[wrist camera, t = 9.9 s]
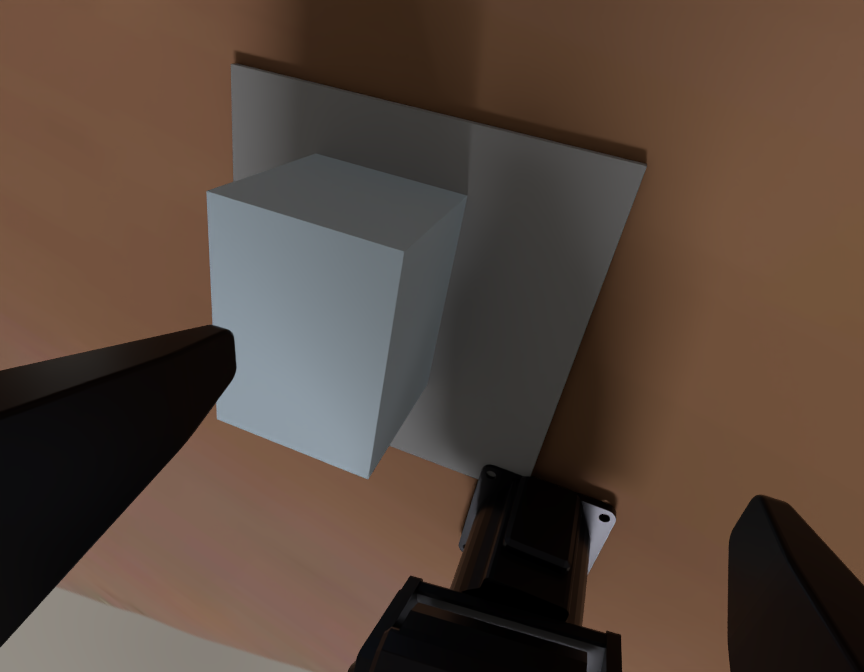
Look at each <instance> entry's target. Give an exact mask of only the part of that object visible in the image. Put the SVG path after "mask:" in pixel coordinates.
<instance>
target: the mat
mask: <svg viewBox="0 0 864 672" xmlns="http://www.w3.org/2000/svg"><path fill="white" fill-rule="evenodd" d="M231 93H232V137H233V181H234V182H235V181H237V180H240V179H243V178H246V177H249V176H252V175H255V174H258V173H261V172H264V171H266V170H269V169H272V168H275V167H278V166H281V165H284V164H287V163H290V162H293V161H295V160H298V159H301V158H304V157H307V156H310V155H313V154H320V155H323V156H327V157H330V158H334V159H338V160H341V161H345V162H348V163H352V164H356V165H359V166H363V167H366V168H370V169H374V170H377V171H381V172H384V173H388V174H392V175H395V176H399V177H402V178H406V179H409V180H413V181H417V182H420V183H424V184H427V185H431V186H435V187H438V188H442V189H445V190H449V191H453V192H456V193H460V194H463V195H467V201H466V205H465V210H464V215H463V219H462V224H461V229H460V234H459V238H458V243H457V248H456V252H455V257H454V262H453V266H452V271H451V276H450V280H449V285H448V290H447V295H446V299H445V304H444V309H443V313H442V318H441V323H440V327H439V332H438V337H437V342H436V346H435V351H434V356H433V360H432V365H431V370H430V374H429V379H428V384H427V386H426V388H425V389H424V391H423V392H422V394H421V396H420V397H419V399H418V400H417V402H416V404H415V405H414V407H413V408H412V410H411V412H410V413H409V415H408V416H407V418H406V420H405V421H404V423H403V424H402V426H401V428H400V429H399V431H398V432H397V434H396V436H395V437H394V439H393V440H392V442H391V444H390V445H389V446H391V447H394V448H397V449H399V450H402V451H405V452H407V453H410V454H413V455H415V456H418V457H420V458H423V459H426V460H428V461H431V462H434V463H436V464H439V465H441V466H444V467H447V468H449V469H452V470H455V471H457V472H460V473H463V474H465V475H468V476H470V477H473V478H476V479H478V480H479V476H480V473H481V470H482V468H483V467H484V466H485V465H489V464H491V465H495V466H498V467H500V468H503V469H506V470H508V471H511V472H514V473H516V474H519V475H522V476H529V477H530V476H531V473H532V470H533V468H534V465H535V462H536V460H537V457H538V454H539V452H540V449H541V446H542V444H543V441H544V438H545V436H546V433H547V430H548V428H549V425H550V422H551V420H552V417H553V415H554V412H555V409H556V407H557V404H558V401H559V399H560V396H561V393H562V391H563V388H564V385H565V383H566V380H567V377H568V375H569V372H570V369H571V367H572V364H573V361H574V359H575V356H576V353H577V351H578V348H579V345H580V343H581V340H582V337H583V335H584V332H585V329H586V327H587V324H588V321H589V319H590V316H591V314H592V311H593V308H594V306H595V303H596V300H597V298H598V295H599V292H600V290H601V287H602V284H603V282H604V279H605V276H606V274H607V271H608V268H609V266H610V263H611V260H612V258H613V255H614V252H615V250H616V247H617V244H618V242H619V239H620V236H621V234H622V231H623V228H624V226H625V223H626V220H627V218H628V215H629V213H630V210H631V207H632V205H633V202H634V199H635V197H636V194H637V191H638V189H639V186H640V183H641V181H642V178H643V175H644V173H645V170H646V167H647V164H645V163H641V162H637V161H633V160H628V159H624V158H620V157H616V156H612V155H608V154H604V153H600V152H596V151H592V150H588V149H584V148H580V147H576V146H571V145H567V144H563V143H559V142H555V141H551V140H547V139H543V138H539V137H535V136H531V135H527V134H523V133H518V132H514V131H510V130H506V129H502V128H498V127H494V126H490V125H486V124H482V123H478V122H474V121H470V120H465V119H461V118H457V117H453V116H449V115H445V114H441V113H437V112H433V111H429V110H425V109H421V108H417V107H413V106H408V105H404V104H400V103H396V102H392V101H388V100H384V99H380V98H376V97H372V96H368V95H364V94H360V93H355V92H351V91H347V90H343V89H339V88H335V87H331V86H327V85H323V84H319V83H315V82H311V81H307V80H303V79H298V78H294V77H290V76H286V75H282V74H278V73H274V72H270V71H266V70H262V69H258V68H254V67H250V66H245V65H241V64H231ZM487 474H488V475H489V476H492V477H494V476H496V474H495V473H494V472H492V471H488V472H487Z"/></svg>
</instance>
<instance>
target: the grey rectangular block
mask: <svg viewBox="0 0 864 672" xmlns="http://www.w3.org/2000/svg"><path fill="white" fill-rule="evenodd" d="M466 201H467V195H463V194H460V193H456V192H453V191H449V190H445V189H442V188H438V187H435V186H431V185H427V184H424V183H420V182H417V181H413V180H409V179H406V178H402V177H399V176H395V175H392V174H388V173H384V172H381V171H377V170H374V169H370V168H366V167H363V166H359V165H356V164H352V163H348V162H345V161H341V160H338V159H334V158H330V157H327V156H323V155H320V154H313V155H310V156H307V157H304V158H301V159H298V160H295V161H293V162H290V163H287V164H284V165H281V166H278V167H275V168H272V169H269V170H266V171H264V172H261V173H258V174H255V175H252V176H249V177H246V178H243V179H240V180H237V181H235V182H232V183H229V184H226V185H223V186H220V187H217V188H214V189H211V190H208V191H207V211H208V232H209V254H210V275H211V297H212V319H213V325H216V326H219V327H222V328H225V329H228V330H230V331H231V332H232V333H233V335H234V339H235V351H236V364H237V369H236V374H235V376H234V378H233V380H232V382H231V383H230V384H229V386H228V387H227V388H226V390H225V391H224V392H223V394H222V395H221V397H220V398H219V399H218V401H217V402H216V405H217V419H218V420H221V421H223V422H226V423H228V424H231V425H233V426H236V427H238V428H241V429H243V430H246V431H248V432H251V433H253V434H256V435H258V436H261V437H263V438H266V439H268V440H271V441H273V442H276V443H278V444H281V445H283V446H286V447H288V448H291V449H293V450H296V451H298V452H301V453H303V454H306V455H308V456H311V457H313V458H316V459H318V460H321V461H323V462H326V463H328V464H331V465H333V466H336V467H338V468H341V469H343V470H346V471H348V472H351V473H353V474H356V475H358V476H361V477H363V478H366V479H369V477H370V475H371V474H372V472H373V471H374V469H375V467H376V466H377V464H378V463H379V461H380V459H381V458H382V456H383V455H384V453H385V451H386V450H387V448H388V447H389V445H390V444H391V442H392V440H393V439H394V437H395V436H396V434H397V432H398V431H399V429H400V428H401V426H402V424H403V423H404V421H405V420H406V418H407V416H408V415H409V413H410V412H411V410H412V408H413V407H414V405H415V404H416V402H417V400H418V399H419V397H420V396H421V394H422V392H423V391H424V389H425V388H426V386H427V384H428V379H429V374H430V370H431V365H432V360H433V356H434V351H435V346H436V342H437V337H438V332H439V327H440V323H441V318H442V313H443V309H444V304H445V299H446V295H447V290H448V285H449V280H450V276H451V271H452V266H453V262H454V257H455V252H456V248H457V243H458V238H459V234H460V229H461V224H462V219H463V215H464V210H465V205H466Z"/></svg>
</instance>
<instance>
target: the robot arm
mask: <svg viewBox="0 0 864 672" xmlns="http://www.w3.org/2000/svg"><path fill="white" fill-rule="evenodd" d="M236 369H237V364H236V351H235V339H234V335H233V333H232V332H231V331H230V330H228V329H225V328H222V327H219V326H216V325H206V326H201V327H197V328H192V329H187V330H183V331H178V332H174V333H169V334H165V335H160V336H156V337H151V338H147V339H142V340H138V341H133V342H128V343H124V344H119V345H115V346H110V347H106V348H101V349H97V350H92V351H88V352H83V353H78V354H74V355H69V356H65V357H60V358H56V359H51V360H47V361H42V362H38V363H33V364H28V365H24V366H19V367H15V368H10V369H6V370H1V371H0V647H1V646H2V645H3V644H4V643H5V642H6V641H7V640H8V638H9V637H10V636H11V635H12V634H13V633H14V632H15V631H16V630H17V629H18V627H19V626H20V625H21V624H22V623H23V622H24V621H25V620H26V619H27V618H28V616H29V615H30V614H31V613H32V612H33V611H34V610H35V609H36V608H37V607H38V605H39V604H40V603H41V602H42V601H43V600H44V599H45V598H46V597H47V595H48V594H49V593H50V592H51V591H52V590H53V589H54V588H55V587H56V586H57V585H58V583H59V582H60V581H61V580H62V579H63V578H64V577H65V576H66V575H67V574H68V572H69V571H70V570H71V569H72V568H73V567H74V566H75V565H76V564H77V563H78V561H79V560H80V559H81V558H82V557H83V556H84V555H85V554H86V553H87V551H88V550H89V549H90V548H91V547H92V546H93V545H94V544H95V543H96V542H97V540H98V539H99V538H100V537H101V536H102V535H103V534H104V533H105V532H106V531H107V529H108V528H109V527H110V526H111V525H112V524H113V523H114V522H115V521H116V520H117V518H118V517H119V516H120V515H121V514H122V513H123V512H124V511H125V510H126V509H127V507H128V506H129V505H130V504H131V503H132V502H133V501H134V500H135V499H136V498H137V496H138V495H139V494H140V493H141V492H142V491H143V490H144V489H145V488H146V487H147V485H148V484H149V483H150V482H151V481H152V480H153V479H154V478H155V477H156V476H157V474H158V473H159V472H160V471H161V470H162V469H163V468H164V467H165V466H166V465H167V463H168V462H169V461H170V460H171V459H172V458H173V457H174V456H175V455H176V454H177V452H178V451H179V450H180V449H181V448H182V447H183V445H184V444H185V443H186V442H187V441H188V439H189V438H190V437H191V436H192V434H193V433H194V432H195V431H196V429H197V428H198V426H199V425H200V424H201V422H202V421H203V420H204V418H205V417H206V416H207V414H208V413H209V411H210V410H211V409H212V407H213V406H214V405H215V403H216V402H217V401H218V399H219V398H220V397H221V395H222V394H223V392H224V391H225V390H226V388H227V387H228V386H229V384H230V383H231V382H232V380H233V378H234V376H235V374H236ZM488 471H492V472H494V473H495V474H496V476H494V477H492V476H489V475H488V474H487V472H488ZM601 514H607V515H608V516H603V515H601ZM615 521H616V511H615V509H614V508H613V507H612V506H610V505H608V504H606V503H603V502H600V501H597V500H595V499H592V498H589V497H587V496H584V495H581V494H579V493H576V492H573V491H571V490H568V489H565V488H562V487H560V486H557V485H554V484H552V483H549V482H546V481H544V480H541V479H538V478H536V477H533V476H530V477H529V476H522V475H519V474H516V473H514V472H511V471H508V470H506V469H503V468H500V467H498V466H495V465H491V464H489V465H485V466H484V467H483V468H482V470H481V473H480V476H479V480H478V483H477V486H476V489H475V493H474V496H473V499H472V503H471V506H470V509H469V512H468V516H467V519H466V522H465V525H464V529H463V532H462V535H461V538H460V542H459V548H460V550H461V551H462V552H463V553H462V556H461V559H460V562H459V565H458V567H457V570H456V573H455V576H454V579H453V582H452V585H451V587H450V589H448V588H444V587H441V586H437V585H434V584H430V583H427V582H423V579H421V578H417V577H414V576H410V577H409V578H408V580H407V581H406V583H405V584H404V586H403V588H402V589H401V590H399V591H398V593H397V594H396V596H395V597H394V599H393V600H392V602H391V603H390V605H389V606H388V608H387V610H386V611H385V613H384V614H383V616H382V617H381V619H380V620H379V622H378V623H377V625H376V626H375V628H374V630H373V631H372V633H371V634H370V636H369V637H368V639H367V640H366V642H365V643H364V645H363V646H362V648H361V650H360V651H359V653H358V656H357V659H356V661H355V662H354V663H353V664H352V665H351V666H350V668H349V670H348V672H622V655H621V635H620V634H616V633H613V632H609V631H606V633H604V632H600V631H597V630H593V629H589V628H586V627H582V622H583V612H584V603H585V593H586V583H587V575H588V573H589V571H590V569H591V567H592V565H593V564H594V562H595V560H596V558H597V556H598V554H599V552H600V550H601V548H602V546H603V545H604V543H605V541H606V539H607V537H608V535H609V533H610V531H611V529H612V527H613V526H614V524H615ZM728 650H729V662H730V671H731V672H864V585H863V584H862V583H861V582H860V581H859V580H858V578H857V577H856V576H855V575H854V574H853V573H852V572H851V571H850V570H849V569H848V568H847V566H846V565H845V564H844V563H843V562H842V561H841V560H840V559H839V558H838V557H837V556H836V554H835V553H834V552H833V551H832V550H831V549H830V548H829V547H828V546H827V545H826V543H825V542H824V541H823V540H822V539H821V538H820V537H819V536H818V535H817V534H816V533H815V531H814V530H813V529H812V528H811V527H810V526H809V525H808V524H807V523H806V522H805V521H804V519H803V518H802V517H801V516H800V515H799V514H798V513H797V512H796V511H795V510H794V509H793V507H792V506H790V505H789V504H788V503H786V502H784V501H781V500H778V499H774V498H771V497H768V496H765V495H756V496H755V497H753V498H752V499H751V501H750V502H749V504H748V506H747V507H746V509H745V510H744V512H743V514H742V515H741V517H740V518H739V520H738V522H737V523H736V525H735V527H734V528H733V530H732V533H731V535H730V540H729V563H728Z"/></svg>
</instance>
